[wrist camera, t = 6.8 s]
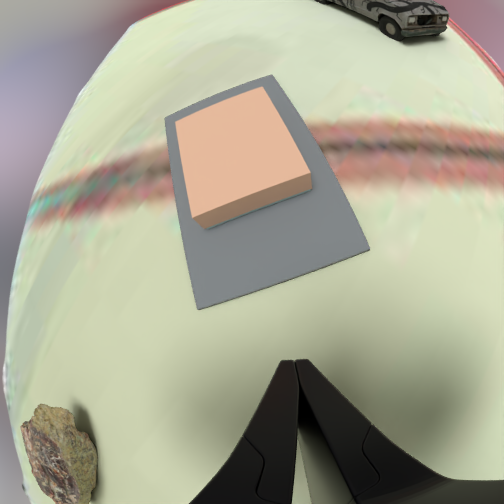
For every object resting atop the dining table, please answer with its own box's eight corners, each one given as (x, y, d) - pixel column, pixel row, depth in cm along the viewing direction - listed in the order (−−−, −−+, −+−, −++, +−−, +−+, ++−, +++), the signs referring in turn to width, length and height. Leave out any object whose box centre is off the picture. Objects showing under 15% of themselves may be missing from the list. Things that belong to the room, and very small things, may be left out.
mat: (369, 250, 16) (370, 248, 16) (199, 309, 18) (197, 309, 18) (272, 76, 24) (271, 74, 23) (165, 119, 25) (164, 117, 25)
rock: (34, 398, 13) (-7, 420, 12) (106, 527, 9) (46, 523, 7) (87, 396, 19) (38, 419, 18) (145, 497, 15) (84, 505, 14)
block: (310, 172, 16) (262, 86, 20) (192, 217, 17) (175, 121, 21) (312, 191, 18) (268, 105, 22) (206, 231, 19) (186, 138, 23)
